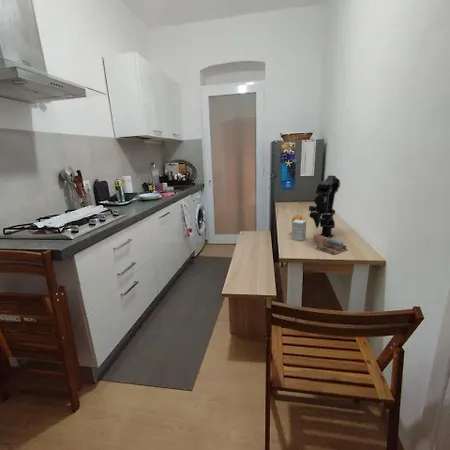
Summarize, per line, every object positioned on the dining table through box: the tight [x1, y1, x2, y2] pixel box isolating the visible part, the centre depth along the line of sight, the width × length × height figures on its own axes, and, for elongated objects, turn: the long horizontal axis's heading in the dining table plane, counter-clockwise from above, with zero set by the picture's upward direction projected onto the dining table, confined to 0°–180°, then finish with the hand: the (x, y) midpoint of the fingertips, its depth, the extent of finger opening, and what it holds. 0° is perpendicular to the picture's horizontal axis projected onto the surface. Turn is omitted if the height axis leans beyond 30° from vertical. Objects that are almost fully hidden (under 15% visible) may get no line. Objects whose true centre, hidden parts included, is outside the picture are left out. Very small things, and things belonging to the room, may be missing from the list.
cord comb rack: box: [315, 243, 349, 256], centre depth 155 cm, size 13×13×2 cm
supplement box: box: [291, 219, 307, 242], centre depth 175 cm, size 7×7×13 cm
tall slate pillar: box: [326, 238, 344, 250], centre depth 157 cm, size 9×4×4 cm, turn 33°
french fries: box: [291, 213, 306, 223], centre depth 184 cm, size 9×8×15 cm
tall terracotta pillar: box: [313, 234, 328, 245], centre depth 169 cm, size 9×4×4 cm, turn 18°
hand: (321, 226), depth 166 cm, fingers open, 9 cm apart
